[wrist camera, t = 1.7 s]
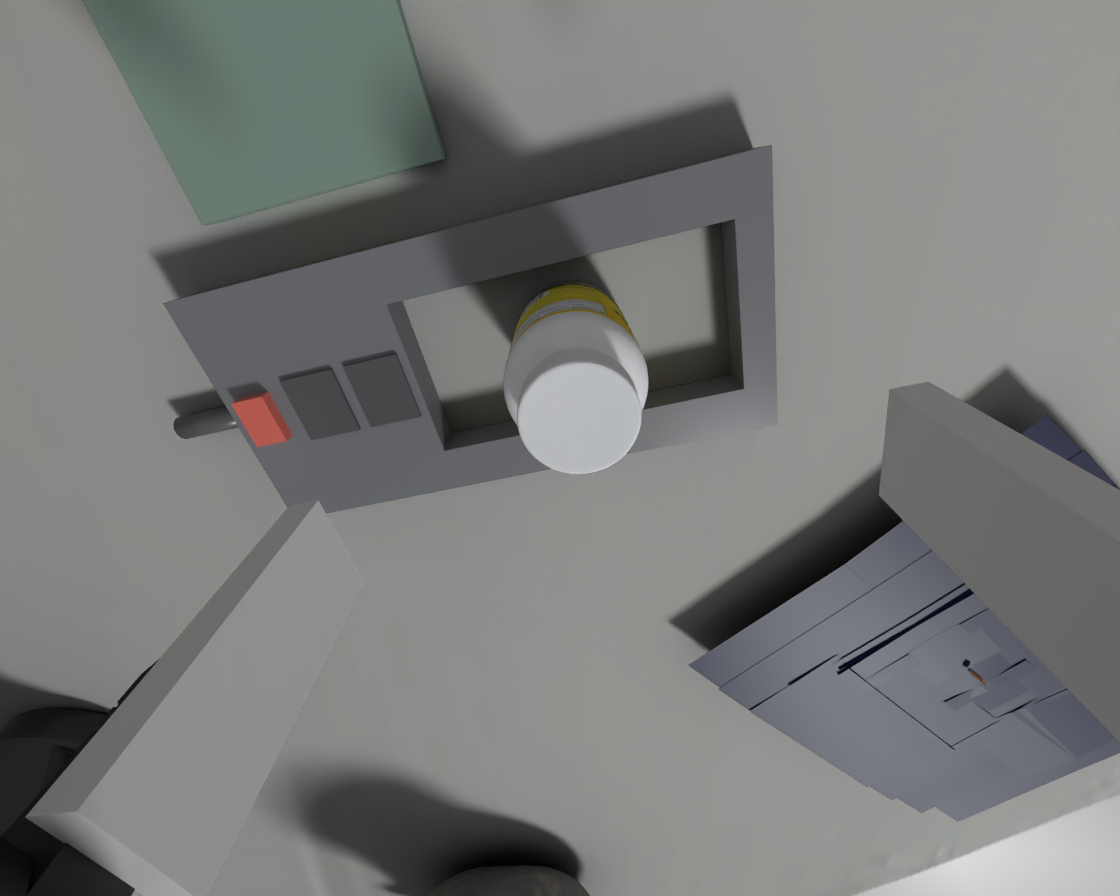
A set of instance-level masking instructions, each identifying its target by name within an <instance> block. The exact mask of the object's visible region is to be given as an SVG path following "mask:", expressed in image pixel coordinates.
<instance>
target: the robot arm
mask: <svg viewBox="0 0 1120 896" xmlns="http://www.w3.org/2000/svg"><path fill="white" fill-rule="evenodd" d="M879 496H880V497H881V498H882V499H883V500H884V501H885V502H886V503H887V504H888V505H889V506H890V507H891V508H892V509H893V510H894V511H895V513H896V514H897V515H898V516H899V517H900V518H901V519H902V520H903V521H904V522H905V523H906V524H907V525H908V526H909V527H910V528H911V529H912V530H913V531H914V532H915V533H916V534H917V535H918V536H919V537H920V538H921V539H922V540H923V541H924V542H925V543H926V544H927V545H928V546H929V547H930V548H931V549H932V550H933V551H934V552H935V553H936V554H937V556H938V557H939V558H940V559H941V560H942V561H943V562H944V563H945V564H946V565H947V566H948V567H949V568H950V569H951V570H952V571H953V572H954V573H955V574H956V575H957V576H958V577H959V578H960V579H961V580H962V581H963V582H964V583H965V584H966V585H967V586H968V587H969V588H970V589H971V590H972V591H973V592H974V593H975V594H976V595H977V596H978V597H979V599H980V600H981V601H982V602H983V603H984V604H985V605H986V606H987V607H988V608H989V609H990V610H991V611H992V612H993V613H994V614H995V615H996V616H997V617H998V618H999V619H1000V620H1001V621H1002V622H1003V623H1004V624H1005V625H1006V626H1007V627H1008V628H1009V629H1010V630H1011V631H1012V632H1013V633H1014V634H1015V635H1016V636H1017V637H1018V638H1019V639H1020V640H1021V642H1022V643H1023V644H1024V645H1025V646H1026V647H1027V648H1028V649H1029V650H1030V651H1031V652H1032V653H1033V654H1034V655H1035V656H1036V657H1037V658H1038V659H1039V660H1040V661H1041V662H1042V663H1043V664H1044V665H1045V666H1046V667H1047V668H1048V669H1049V670H1050V671H1051V672H1052V673H1053V674H1054V675H1055V676H1056V677H1057V678H1058V679H1059V680H1060V681H1061V682H1062V683H1063V685H1064V686H1065V687H1066V688H1067V689H1068V690H1069V691H1070V692H1071V693H1072V694H1073V695H1074V696H1075V697H1076V698H1077V699H1078V700H1079V701H1080V702H1081V703H1082V704H1083V705H1084V706H1085V707H1086V708H1087V709H1088V710H1089V711H1090V712H1091V713H1092V714H1093V715H1094V716H1095V717H1096V718H1097V719H1098V720H1099V721H1100V722H1101V723H1102V724H1103V725H1104V726H1105V728H1106V729H1107V730H1108V731H1109V732H1110V733H1111V734H1112V735H1113V736H1114V737H1115V738H1116V739H1117V740H1118V741H1119V742H1120V490H1119V489H1117V488H1115V487H1113V486H1112V485H1110V484H1108V483H1106V482H1105V481H1103V480H1101V479H1099V478H1098V477H1096V476H1094V475H1092V474H1090V473H1089V472H1087V471H1085V470H1083V469H1082V468H1080V467H1078V466H1076V465H1075V464H1073V463H1071V462H1069V461H1068V460H1066V459H1064V458H1062V457H1060V456H1059V455H1057V454H1055V453H1053V452H1052V451H1050V450H1048V449H1046V448H1045V447H1043V446H1041V445H1039V444H1038V443H1036V442H1034V441H1032V440H1030V439H1029V438H1027V437H1025V436H1023V435H1022V434H1020V433H1018V432H1016V431H1015V430H1013V429H1011V428H1009V427H1008V426H1006V425H1004V424H1002V423H1000V422H999V421H997V420H995V419H993V418H992V417H990V416H988V415H986V414H985V413H983V412H981V411H979V410H978V409H976V408H974V407H972V406H970V405H969V404H967V403H965V402H963V401H962V400H960V399H958V398H956V397H955V396H953V395H951V394H949V393H948V392H946V391H944V390H942V389H940V388H939V387H937V386H935V385H933V384H932V383H930V382H924V383H919V384H914V385H909V386H904V387H899V388H894V389H890V390H889V400H888V409H887V419H886V429H885V439H884V449H883V459H882V469H881V478H880V488H879ZM364 584H365V581H364V579H363V577H362V576H361V574H360V572H359V570H358V569H357V567H356V565H355V564H354V562H353V560H352V558H351V557H350V555H349V553H348V551H347V550H346V548H345V546H344V544H343V543H342V541H341V539H340V537H339V536H338V534H337V532H336V530H335V529H334V527H333V525H332V523H331V522H330V520H329V518H328V516H327V515H326V513H325V511H324V509H323V508H322V506H321V504H320V502H319V501H318V500H317V501H312V502H306V503H301V504H296V505H291V506H289V507H288V508H287V510H286V511H285V512H284V513H283V514H282V515H281V517H280V518H279V519H278V520H277V521H276V522H275V524H274V525H273V526H272V527H271V528H270V530H269V531H268V532H267V533H266V534H265V535H264V537H263V538H262V539H261V540H260V541H259V542H258V544H257V545H256V546H255V547H254V548H253V550H252V551H251V552H250V553H249V554H248V555H247V557H246V558H245V559H244V560H243V561H242V562H241V564H240V565H239V566H238V567H237V568H236V570H235V571H234V572H233V573H232V574H231V575H230V577H229V578H228V579H227V580H226V581H225V582H224V584H223V585H222V586H221V587H220V588H219V590H218V591H217V592H216V593H215V594H214V595H213V597H212V598H211V599H210V600H209V601H208V603H207V604H206V605H205V606H204V607H203V608H202V610H201V611H200V612H199V613H198V614H197V615H196V617H195V618H194V619H193V620H192V621H191V623H190V624H189V625H188V626H187V627H186V628H185V630H184V631H183V632H182V633H181V634H180V635H179V637H178V638H177V639H176V640H175V641H174V643H173V644H172V645H171V646H170V647H169V648H168V650H167V651H166V652H165V653H164V654H163V655H162V657H161V658H160V659H159V660H157V661H156V662H155V663H154V664H153V665H152V666H150V667H149V668H148V669H147V670H146V671H144V672H143V673H142V674H141V675H140V676H139V677H138V679H137V680H136V681H135V682H134V683H133V684H132V686H131V687H130V688H129V689H128V690H127V691H126V693H125V694H124V695H123V696H122V697H121V698H120V700H119V701H118V706H117V707H113V708H112V709H111V710H110V711H109V712H108V713H107V715H104V714H99V713H94V712H89V711H82V710H74V709H43V710H36V711H31V712H28V713H24V714H22V715H19V716H17V717H15V718H14V719H12V720H11V721H10V722H9V723H8V724H7V725H5V726H4V727H3V728H2V729H1V730H0V896H131V895H132V893H133V892H134V890H135V891H136V892H138V893H139V894H141V895H142V896H208V895H209V893H210V891H211V889H212V887H213V885H214V883H215V881H216V879H217V877H218V875H219V873H220V871H221V869H222V867H223V865H224V863H225V861H226V859H227V857H228V855H229V853H230V851H231V849H232V847H233V845H234V843H235V841H236V839H237V837H238V835H239V833H240V831H241V829H242V827H243V825H244V823H245V821H246V819H247V817H248V815H249V813H250V811H251V809H252V807H253V805H254V803H255V801H256V799H257V797H258V795H259V793H260V791H261V789H262V787H263V785H264V783H265V781H266V779H267V777H268V775H269V773H270V771H271V769H272V767H273V765H274V763H275V761H276V759H277V757H278V755H279V753H280V751H281V749H282V747H283V745H284V743H285V741H286V739H287V737H288V735H289V733H290V731H291V729H292V727H293V725H294V723H295V721H296V719H297V717H298V715H299V713H300V711H301V709H302V707H303V705H304V703H305V701H306V699H307V697H308V695H309V693H310V691H311V689H312V687H313V685H314V683H315V681H316V679H317V677H318V676H319V674H320V672H321V670H322V668H323V666H324V664H325V662H326V660H327V658H328V656H329V654H330V652H331V650H332V648H333V646H334V644H335V642H336V640H337V638H338V636H339V634H340V632H341V630H342V628H343V626H344V624H345V622H346V620H347V618H348V616H349V614H350V612H351V610H352V608H353V606H354V604H355V602H356V600H357V598H358V596H359V594H360V592H361V590H362V588H363V586H364Z"/></svg>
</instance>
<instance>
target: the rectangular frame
mask: <svg viewBox="0 0 1120 896" xmlns="http://www.w3.org/2000/svg"><path fill="white" fill-rule="evenodd" d="M716 223H721V227H722V242H723V257H724V272H725V287H726V302H727V317H728V332H729V347H730V362H731V374H730V375H726V376H721V377H716V378H711V379H707V380H702V381H697V382H692V383H688V384H683V385H678V386H673V387H669V388H664V389H659V390H655V391H650V392H648V393H647V398H646V401H645V405H644V407H643V410H642V418H641V426H640V430H639V433H638V436H637V438H636V440H635V442H634V444H633V445H632V447H631V448H630V450H629V451H628V452H627V453H626V454H629V453H634V452H639V451H644V450H649V449H654V448H659V447H665V446H670V445H675V444H680V443H685V442H690V441H695V440H700V439H705V438H710V437H715V436H720V435H725V434H730V433H735V432H741V431H746V430H751V429H756V428H761V427H766V426H771V425H776V424H777V376H776V326H775V275H774V225H773V175H772V145H769V146H763V147H757V148H752V149H748V150H744V151H741V152H737V153H733V154H729V155H725V156H721V157H718V158H714V159H710V160H706V161H702V162H698V163H695V164H691V165H687V166H683V167H679V168H675V169H672V170H668V171H664V172H660V173H656V174H652V175H649V176H645V177H641V178H637V179H633V180H629V181H626V182H622V183H618V184H614V185H610V186H606V187H602V188H599V189H595V190H591V191H587V192H583V193H579V194H576V195H572V196H568V197H564V198H560V199H556V200H553V201H549V202H545V203H541V204H537V205H533V206H530V207H526V208H522V209H518V210H514V211H510V212H507V213H503V214H499V215H495V216H491V217H487V218H483V219H480V220H476V221H472V222H468V223H464V224H460V225H457V226H453V227H449V228H445V229H441V230H437V231H434V232H430V233H426V234H422V235H418V236H414V237H411V238H407V239H403V240H399V241H395V242H391V243H388V244H384V245H380V246H376V247H372V248H368V249H365V250H361V251H357V252H353V253H349V254H345V255H341V256H338V257H334V258H330V259H326V260H322V261H318V262H315V263H311V264H307V265H303V266H299V267H295V268H292V269H288V270H284V271H280V272H276V273H272V274H269V275H265V276H261V277H257V278H253V279H249V280H246V281H242V282H238V283H234V284H230V285H226V286H222V287H219V288H215V289H211V290H207V291H203V292H199V293H196V294H192V295H189V296H185V297H182V298H179V299H176V300H172V301H169V302H166V303H163V304H164V306H165V308H166V309H167V311H168V312H169V314H170V316H171V317H172V319H173V321H174V322H175V324H176V326H177V327H178V329H179V330H180V332H181V334H182V335H183V337H184V339H185V340H186V342H187V344H188V345H189V347H190V348H191V350H192V352H193V353H194V355H195V357H196V358H197V360H198V362H199V363H200V365H201V366H202V368H203V370H204V371H205V373H206V375H207V376H208V378H209V380H210V381H211V383H212V384H213V386H214V388H215V389H216V391H217V393H218V394H219V396H220V398H221V399H222V401H223V402H224V404H225V406H224V407H220V408H216V409H211V410H207V411H203V412H198V413H194V414H190V415H185V416H181V417H178V418H176V419H175V421H174V430H175V432H176V433H177V435H178V436H180V437H181V438H184V439H189V438H193V437H198V436H202V435H207V434H211V433H216V432H220V431H225V430H229V429H234V428H238V427H239V429H240V430H241V432H242V434H243V435H244V437H245V439H246V440H247V442H248V443H249V445H250V447H251V448H252V450H253V452H254V453H255V455H256V457H257V458H258V460H259V461H260V463H261V465H262V466H263V468H264V470H265V471H266V473H267V475H268V476H269V478H270V479H271V481H272V483H273V484H274V486H275V488H276V489H277V491H278V493H279V494H280V496H281V497H282V499H283V501H284V502H285V504H286V506H287V507H289V506H291V505H296V504H301V503H306V502H312V501H317V500H318V501H319V502H320V504H321V506H322V508H323V509H324V511H325V513H330V512H335V511H341V510H346V509H351V508H356V507H361V506H366V505H371V504H376V503H381V502H386V501H391V500H396V499H401V498H406V497H411V496H416V495H422V494H427V493H432V492H437V491H442V490H447V489H452V488H457V487H462V486H467V485H472V484H477V483H482V482H487V481H492V480H497V479H503V478H508V477H513V476H518V475H523V474H528V473H533V472H538V471H543V470H548V469H552V468H550V467H548V466H546V465H544V464H543V463H541V462H540V461H538V460H537V459H536V458H535V457H534V456H533V455H532V454H531V453H530V452H529V451H528V449H527V448H526V446H525V445H524V443H523V441H522V439H521V437H520V434H519V431H518V427H517V424H516V423H515V422H514V420H512V421H507V422H503V423H498V424H493V425H488V426H484V427H479V428H474V429H470V430H465V431H460V432H455V433H452V431H451V429H450V426H449V423H448V421H447V418H446V416H445V413H444V410H443V408H442V405H441V402H440V400H439V397H438V394H437V392H436V389H435V387H434V384H433V381H432V379H431V376H430V373H429V371H428V368H427V365H426V363H425V360H424V357H423V355H422V352H421V350H420V347H419V344H418V342H417V339H416V336H415V334H414V331H413V328H412V326H411V323H410V321H409V318H408V315H407V313H406V310H405V307H404V305H403V302H402V301H403V300H407V299H411V298H415V297H419V296H423V295H427V294H432V293H436V292H440V291H444V290H448V289H452V288H456V287H460V286H464V285H468V284H472V283H476V282H480V281H484V280H489V279H493V278H497V277H501V276H505V275H509V274H513V273H517V272H521V271H525V270H529V269H533V268H537V267H541V266H545V265H550V264H554V263H558V262H562V261H566V260H570V259H574V258H578V257H582V256H586V255H590V254H594V253H598V252H602V251H607V250H611V249H615V248H619V247H623V246H627V245H631V244H635V243H639V242H643V241H647V240H651V239H655V238H659V237H664V236H668V235H672V234H676V233H680V232H684V231H688V230H692V229H696V228H700V227H704V226H708V225H712V224H716Z"/></svg>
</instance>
